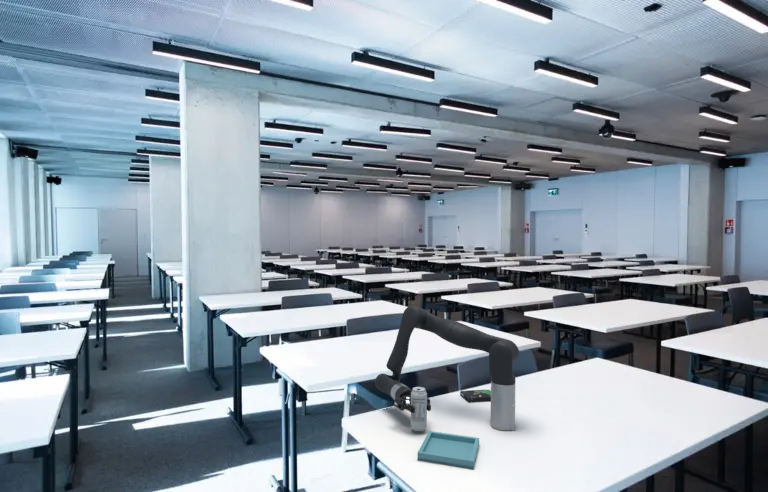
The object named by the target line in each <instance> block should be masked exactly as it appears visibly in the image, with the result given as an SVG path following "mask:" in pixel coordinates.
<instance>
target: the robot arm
mask: <svg viewBox="0 0 768 492" xmlns="http://www.w3.org/2000/svg"><path fill="white" fill-rule="evenodd" d="M414 329H419V330H421V331H422V330H423V331H427V332H430V333H432V334H435V335H437V336H438V337H439V338H441V339H443V340H444V341H446V342H448V343H450V344H453V345H455V346H457V347H460V348H464V349H470V350H477V351H482V352H485V353H487V354H488V368H489V369H488V371H489V375H490V391H491V402H490V417H489V419H490V420H489V421H490V423H489V424H490V426H491V427H492V428H493V429H495V430H498V431H515V429H516V375H515V374H514V373H513V362H515V361H516V360H517V359H518V358H519V355H520V350H519V347H518V346H517V345H516V343H515V342H514V341H512V340H510V339H507V338H504V337H499V336H495V335H492V334H489V333H486V332H484V331H481V330H479V329H476V328H474V327H471V326H470V325H466V324H464V323H461V322H458V321H456V320H452V319H449V318H444V317H443V318H442V317H439V316H437V315H435V314H433V313H431V312H429V311H427V310H425V309H424V308H423V307H422V308H421V307H419V306H416V305H409V306H407V307H406V308H405V309H404V311H403V312H402V316H401V320H400V325H399V328H398V332H397V335H396V340H395V342H394V346H393V348H392V351H391V352H390V355H389V357H388V360H387V362H386V365H385V366H386V369H387V370H389V371H391V372H392V375H390V374H386V373H380V374H378V375H376V378H375V381H374V383H375V384H374V385H375V387H376V388H377V390H379V391H380V392H382V393H383V394H386V395H388V396H390V398H392V399H393V401H394V405H393V406H394V407H395V408H397V409H398V410H400V411H402V412H403V411H405V410H406V411H408V412H409V413H410V414H411V413H415V408H414V407H413V406H412V405H411V392H412V390H413V389H411V387H409V386H407V385H405V384H403V383H402V382H400V381H401V375H402V370H403V368H404V366H405V363H406V360H407V357H408V354H409V344H410V340H411V339H410V338H411V335H412V333H413V331H414ZM431 410H432V405H431V399H430V398H429V397H428V396H427V412H430V411H431Z"/></svg>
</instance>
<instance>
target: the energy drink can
mask: <svg viewBox="0 0 768 492" xmlns="http://www.w3.org/2000/svg"><path fill="white" fill-rule="evenodd" d="M411 390H412V392H411V405H412V406H413V407H414V408H415V413H411V412H410V427H411V429H412V430H413V431H414V432H424V431H425V430H426V429H427V426H428V410H427V397H428V393H427V391H426V387H422V386H415V387H412V389H411Z"/></svg>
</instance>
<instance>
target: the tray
mask: <svg viewBox="0 0 768 492" xmlns="http://www.w3.org/2000/svg"><path fill="white" fill-rule="evenodd" d="M479 447H480V437H475V436H466V435H462V434H461V435H460V434H459V435H458V434H454V433H445V432H438V431H431V430H428V433H426V437H424V440H423V442H422V443H421V446H419V450H418V452H417V461H421V462H427V463H433V464H437V465H438V464H439V465H444V466H445V465H446V466H452V467H457V468H463V469H469V470H474V469H475V465H476V461H477V457H478V456H477V455H478V452H479Z"/></svg>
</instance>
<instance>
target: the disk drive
mask: <svg viewBox="0 0 768 492" xmlns="http://www.w3.org/2000/svg"><path fill="white" fill-rule="evenodd" d="M459 396H460V397H461V398H462V399H463V400H464V401H466V402H467V403H468V404H471V403H473V404H474V403H487V402H489V403H491V389H472V390H460V391H459Z"/></svg>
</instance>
